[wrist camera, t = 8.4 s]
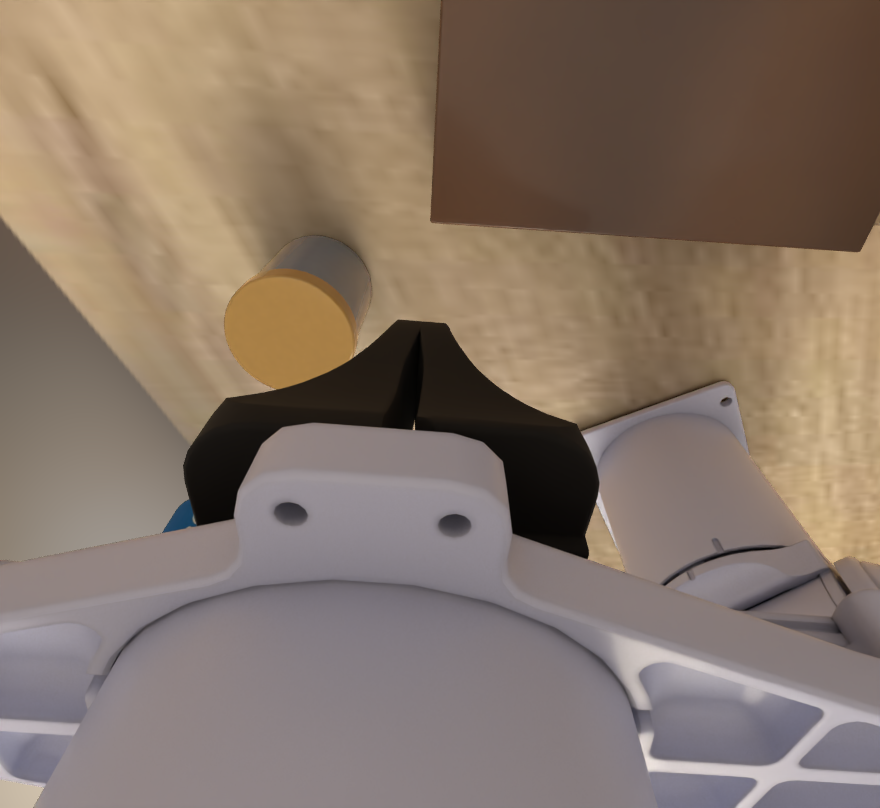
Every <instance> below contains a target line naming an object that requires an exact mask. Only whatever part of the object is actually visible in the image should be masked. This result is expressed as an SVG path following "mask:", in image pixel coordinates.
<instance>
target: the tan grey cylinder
mask: <svg viewBox="0 0 880 808" xmlns="http://www.w3.org/2000/svg"><path fill="white" fill-rule="evenodd" d="M371 296H372V286H371V280H370V276H369V273H368V271H367V269H366V267H365V265H364V263H363V262H362V260H361V259H360V258H359V257H358V255H357V254H356V253H355V252H354V251H353V250H351V249H350V248H349V247H348V246H346V245H345V244H343V243H341V242H339V241H337V240H335V239H332V238H329V237H325V236H304V237H300V238H297V239H295V240H293V241H291V242H289V243H288V244H286V245H285V246H284V247H283V248H282V249H281V250H280V251H279V252H278V253H277V254H276V255H275V256H274V257H273V258H272V259H271V260H270V261H269V263H268V264H267V265H266V266H265V267H264V268H263V269H262V270H261V271H260V272H259V273H258V274H257V275H255V276H253V277H252V278H250V279H249V280H248V281H247V282H245V283H244V284H243V285H242V286H241V287H240V288H239V289H238V290H237V291H236V293H235V294H234V295H233V296H232V298H231V300H230V301H229V303H228V306H227V309H226V312H225V317H224V329H225V336H226V340H227V343H228V346H229V348H230V350H231V352H232V354H233V356H234V357H235V359H236V360H237V362H238V363H239V364H240V365H241V366H242V367H243V369H244V370H245V371H247V372H248V373H249V374H250V375H251V376H253V377H254V378H255V379H257V380H258V381H260V382H262V383H263V384H265V385H267V386H270V387H272V388H275V389H281V388H285V387H289V386H292V385H296V384H299V383H302V382H304V381H307V380H310V379H312V378H315V377H317V376H320V375H322V374H325V373H327V372H329V371H331V370H333V369H335V368H337V367H339V366H341V365H342V364H344V363H346V362H347V361H349V360H351V359H352V358H353V356H354V353H355V351H356V347H357V340H358V335H359V332H360V329H361V326H362V324H363V321H364V318H365V315H366V313H367V310H368V307H369V304H370V301H371Z"/></svg>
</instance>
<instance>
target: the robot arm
mask: <svg viewBox="0 0 880 808" xmlns="http://www.w3.org/2000/svg"><path fill="white" fill-rule="evenodd" d="M726 397H728V399H727V400H726V401H724V402H721V400H722V399H724V398H726ZM414 421H415V430H413V425H414ZM183 468H184V479H185V484H186V488H187V492H188V496H189V499H190V503H191V507H192V511H193V514H194V518H195V522H196V527H191V528H186V529H181V530H176V531H171V532H166V533H160V534H155V535H151V536H146V537H140V538H136V539H131V540H126V541H120V542H116V543H110V544H105V545H100V546H95V547H90V548H85V549H80V550H74V551H69V552H65V553H59V554H54V555H50V556H44V557H39V558H34V559H29V560H24V561H8V560H0V779H1V780H6V781H11V782H16V783H22V784H27V785H33V786H38V787H43V788H44V789H43V791H42V793H41V795H40V796H39V798H38V800H37V802H36V803H35V805H34V807H33V808H880V565H877V564H873V563H869V562H865V561H862V562H860V561H859V560H857V559H856V558H855V557H851V556H849V557H845V558H843V559H841V560H838V561H836V562H834V565H835V567H836V568H835V567H834V566H833V565H832V564H831V562H830V561H829V560H828V559H827V558H826V557H825V556H824V555H823V554H822V552H821V551H820V550H819V548H818V547H817V546H816V544H815V543H814V541H813V540H812V539H811V537H810V536H809V535H808V533H807V532H806V531H805V529H804V528H803V527H802V525H801V524H800V523H799V521H798V520H797V519H796V517H795V516H794V515H793V513H792V512H791V511H790V509H789V508H788V507H787V505H786V504H785V503H784V501H783V500H782V499H781V497H780V496H779V495H778V493H777V492H776V491H775V489H774V488H773V487H772V485H771V484H770V482H769V481H768V480H767V478H766V477H765V476H764V474H763V473H762V472H761V470H760V469H759V468H758V466H757V465H756V464H755V462H754V461H753V460H752V458H751V457H750V454H749V450H748V445H747V441H746V436H745V432H744V427H743V423H742V419H741V414H740V410H739V405H738V401H737V396H736V392H735V389H734V387H733V386H732V384H731V383H729V382H727V381H721V382H718V383H715V384H712V385H709V386H706V387H704V388H701V389H698V390H695V391H692V392H690V393H687V394H684V395H681V396H678V397H676V398H673V399H670V400H667V401H664V402H662V403H659V404H656V405H653V406H650V407H648V408H645V409H642V410H639V411H636V412H634V413H631V414H628V415H625V416H622V417H620V418H617V419H614V420H611V421H608V422H606V423H603V424H600V425H597V426H594V427H592V428H589V429H586V430H583V431H581V432H580V430H579V428H578V426H577V424H575V423H572V422H569V421H566V420H563V419H560V418H557V417H554V416H551V415H548V414H546V413H543V412H541V411H539V410H537V409H535V408H532V407H530V406H528V405H526V404H524V403H522V402H521V401H519V400H517V399H515V398H514V397H512V396H511V395H509V394H507V393H506V392H504V391H503V390H501V389H500V388H499V387H497V386H496V385H495V384H494V383H492V382H491V381H490V380H489V379H488V378H486V377H485V376H484V375H483V374H482V373H481V372H480V371H479V370H478V369H477V368H476V367H475V366H474V365H473V364H472V362H471V361H470V360H469V359H468V357H467V356H466V354H465V353H464V352H463V350H462V349H461V348H460V346H459V345H458V343H457V341H456V340H455V338H454V336H453V335H452V333H451V331H450V328H449V327H448V326H447V324H446V323H434V322H422V321H409V320H397V321H396V322H395V323H394V324H393V325H391V326H390V327H389V328H388V329H387V330H386V331H385V332H384V333H383V334H382V335H381V336H380V337H379V338H378V339H377V340H376V341H374V342H373V343H372V344H371V345H370V346H369V347H367V348H366V349H365V350H363V351H362V352H361V353H359V354H358V355H356V356H355V357H354V358H352V359H351V360H349V361H347V362H346V363H344V364H342V365H341V366H339V367H337V368H335V369H333V370H331V371H329V372H327V373H325V374H322V375H320V376H317V377H315V378H312V379H310V380H307V381H304V382H302V383H299V384H296V385H292V386H289V387H285V388H281V389H277V390H273V391H269V392H264V393H258V394H252V395H245V396H239V397H231V398H226V399H225V400H224V402H223V403H222V404H221V405H220V406H219V407H218V409H217V410H216V411H215V412H214V413H213V415H212V416H211V418H210V419H209V420H208V422H207V423H206V425H205V426H204V428H203V429H202V431H201V432H200V433H199V435H198V436H197V438H196V439H195V441H194V442H193V444H192V445H191V447H190V448H189V450H188V452H187V455H186V458H185V462H184V465H183ZM595 504H597V506H598V508H599V510H600V512H601V515H602V517H603V519H604V521H605V523H606V525H607V528H608V530H609V532H610V534H611V536H612V539H613V541H614V543H615V545H616V547H617V550H618V551H619V553H620V556H621V559H622V562H623V565H624V568H625V571H626V573H625V572H623V571H620V570H617V569H614V568H611V567H608V566H605V565H602V564H599V563H596V562H593V561H591V560H588V556H589V549H588V545H587V542H586V538H585V534H586V531H587V528H588V525H589V522H590V519H591V516H592V513H593V510H594V507H595Z"/></svg>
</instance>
